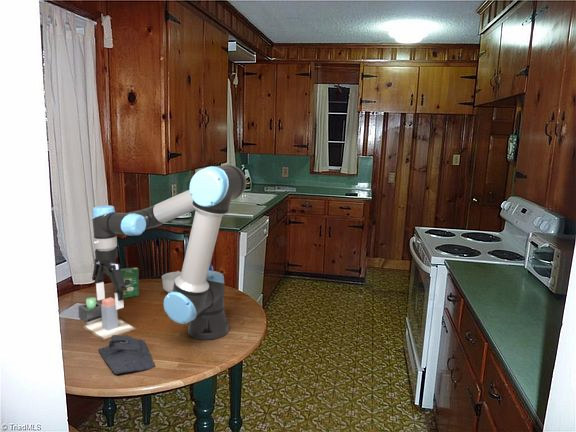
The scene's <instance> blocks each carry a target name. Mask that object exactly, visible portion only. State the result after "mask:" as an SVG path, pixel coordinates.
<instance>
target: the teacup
mask: <svg viewBox="0 0 576 432" xmlns="http://www.w3.org/2000/svg"><path fill="white" fill-rule="evenodd" d="M181 272H182V271H180V270H177V271H172V272H167V273H164V274H163V275H162V276H161V283H162V288H163V290H164V291H165V292H167V294H168V293H170V292H172V290H173V286H174V282H175V279H176V277H178V276H180V275H181Z"/></svg>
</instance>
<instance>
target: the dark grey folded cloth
mask: <svg viewBox="0 0 576 432" xmlns="http://www.w3.org/2000/svg"><path fill="white" fill-rule="evenodd" d="M108 343H109V344H108V345H106V346H105V347H100V348H98V352H99V354H100V355H101V357H102V359H103V360H104V361H105V363H106V364H107V365H108V368H109V367H110V369H111V371H112V372H113V373H114V374H116V375H120V374H125V373H132V372H141V371H148V370H150V369H153V368H156V363H155V362H154V359H153V357H152V354H151V352H150V350H149V347H148V346H147V343H146V341H145V340H144V339H141V338H140V339H137V338H134V337H132V336H130V335H127V334H126V335H124V334H122V335H112V337H111V339H109V341H108Z"/></svg>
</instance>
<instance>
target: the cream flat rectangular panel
mask: <svg viewBox="0 0 576 432" xmlns="http://www.w3.org/2000/svg"><path fill="white" fill-rule="evenodd" d="M80 327H81V328H82V329H84V330H85V331H87V332H88V333H90V334H92V335H93V336H94V337H97V338H99V339H100V340H101V341H102V342H105V341H107V340H111V337H112V335H124V334H127V333H130V332H132V331H136V330H137V329H138V328H137V327H135V326H134V325H132V324H130V323H128V322H127V321H124V320H123V319H121V318H119V317H118V328H115V329H112V330H109V331H107V330H106V329H104V328H102V318H99V319H95V320H92V321H89V322H85V323H83V324H82V325H80Z"/></svg>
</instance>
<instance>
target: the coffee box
mask: <svg viewBox="0 0 576 432" xmlns="http://www.w3.org/2000/svg"><path fill="white" fill-rule="evenodd" d="M120 269H121V273H122V276H123V279H124V282H125V286H126V290H125V291H123V299H127V298H133V297H139V295H140V294H139V293H140V292H139V287H140V286H139V268H138V267H126V268H120Z"/></svg>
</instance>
